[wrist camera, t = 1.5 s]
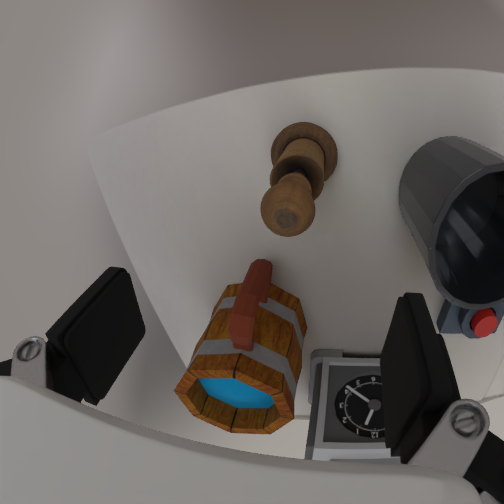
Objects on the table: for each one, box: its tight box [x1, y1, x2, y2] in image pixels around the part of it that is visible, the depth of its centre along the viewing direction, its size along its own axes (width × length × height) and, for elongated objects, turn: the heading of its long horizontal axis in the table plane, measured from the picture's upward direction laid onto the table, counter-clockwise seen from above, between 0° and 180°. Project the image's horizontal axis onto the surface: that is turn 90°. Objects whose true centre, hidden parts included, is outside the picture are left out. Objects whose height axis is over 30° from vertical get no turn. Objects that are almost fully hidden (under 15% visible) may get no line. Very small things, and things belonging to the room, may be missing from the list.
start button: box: [471, 308, 498, 337], centre depth 31 cm, size 4×4×2 cm
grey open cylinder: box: [399, 136, 504, 309], centre depth 24 cm, size 13×13×12 cm
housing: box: [436, 299, 504, 338], centre depth 33 cm, size 10×8×4 cm
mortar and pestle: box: [261, 122, 337, 237], centre depth 24 cm, size 7×6×18 cm
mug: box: [174, 259, 307, 434], centre depth 36 cm, size 20×14×15 cm
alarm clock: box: [305, 349, 402, 464], centre depth 38 cm, size 18×13×18 cm
